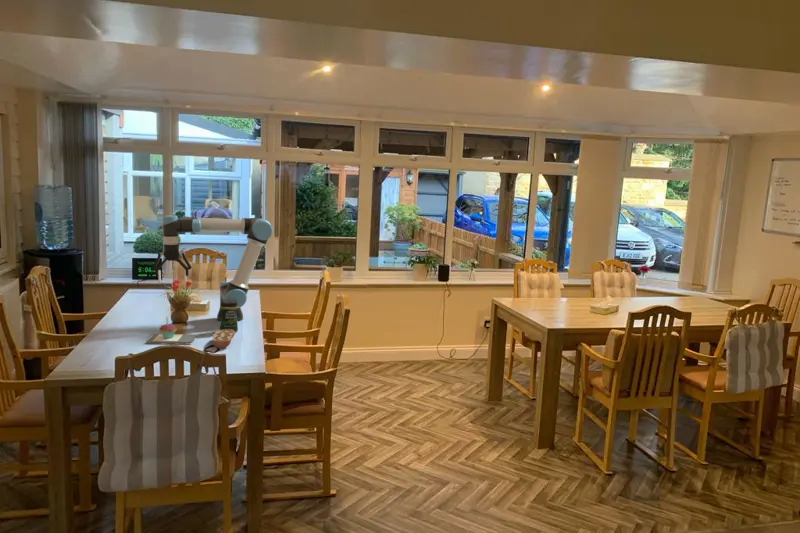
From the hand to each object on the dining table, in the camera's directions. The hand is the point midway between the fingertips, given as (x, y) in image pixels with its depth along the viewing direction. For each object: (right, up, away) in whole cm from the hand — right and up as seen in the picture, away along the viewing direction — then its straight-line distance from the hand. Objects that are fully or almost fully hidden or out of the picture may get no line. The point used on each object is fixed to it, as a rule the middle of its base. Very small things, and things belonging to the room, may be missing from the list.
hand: (172, 281), depth 324 cm
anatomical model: (+34, -32, -20) cm, 51 cm away
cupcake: (+5, -29, -19) cm, 35 cm away
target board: (+7, -30, -18) cm, 36 cm away
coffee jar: (+30, -28, +3) cm, 41 cm away
